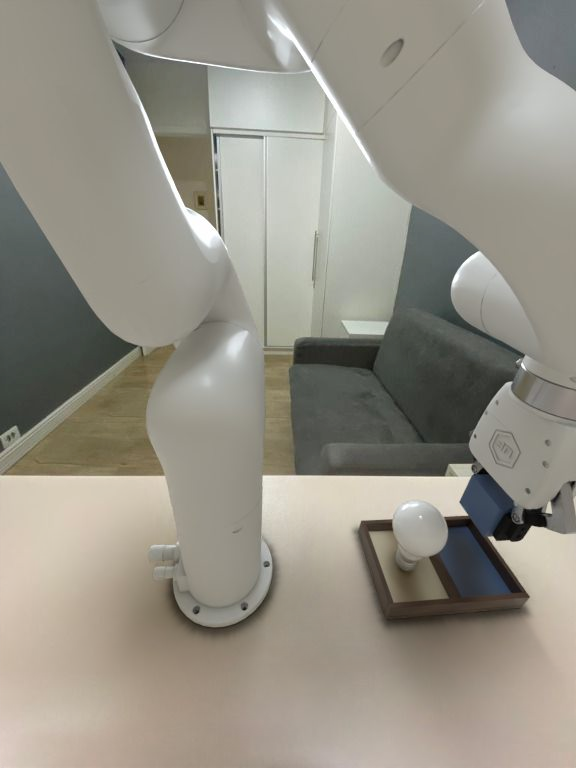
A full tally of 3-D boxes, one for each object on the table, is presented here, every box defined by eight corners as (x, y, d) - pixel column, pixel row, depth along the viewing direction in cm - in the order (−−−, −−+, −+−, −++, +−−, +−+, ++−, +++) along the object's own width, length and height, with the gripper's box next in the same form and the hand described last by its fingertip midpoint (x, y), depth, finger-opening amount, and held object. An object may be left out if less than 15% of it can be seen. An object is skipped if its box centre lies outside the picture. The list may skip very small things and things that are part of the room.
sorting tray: (386, 619, 37) (390, 608, 36) (357, 531, 47) (360, 520, 46) (521, 608, 39) (530, 597, 38) (466, 525, 49) (472, 515, 48)
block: (483, 537, 36) (499, 508, 34) (458, 502, 40) (471, 474, 38) (522, 535, 37) (541, 506, 34) (493, 500, 41) (509, 473, 38)
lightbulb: (378, 578, 40) (398, 524, 35) (381, 536, 45) (398, 483, 40) (430, 596, 39) (459, 542, 33) (427, 550, 44) (451, 497, 38)
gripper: (469, 354, 36) (427, 467, 45) (616, 454, 22) (511, 593, 31) (527, 354, 37) (474, 466, 46) (706, 451, 22) (578, 587, 31)
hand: (489, 515), depth 38 cm, fingers closed on block, 5 cm apart
